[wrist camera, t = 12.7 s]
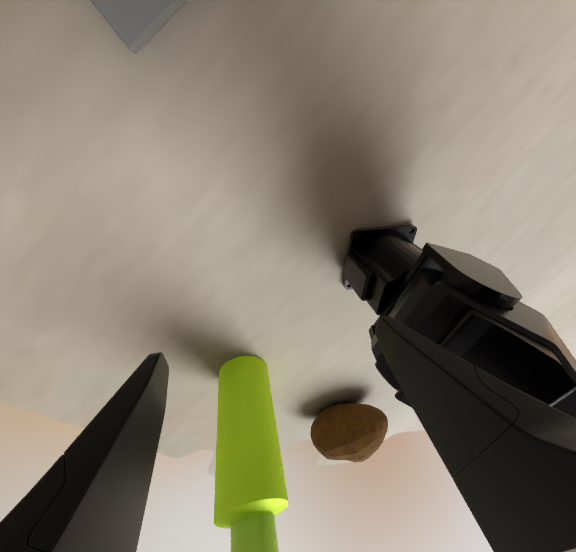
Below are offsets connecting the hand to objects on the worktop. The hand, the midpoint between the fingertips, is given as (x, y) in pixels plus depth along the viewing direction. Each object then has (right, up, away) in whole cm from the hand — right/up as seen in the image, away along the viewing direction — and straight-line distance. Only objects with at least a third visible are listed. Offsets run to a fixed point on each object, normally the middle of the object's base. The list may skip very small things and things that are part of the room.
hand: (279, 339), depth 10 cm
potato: (+9, -19, +30) cm, 37 cm away
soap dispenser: (-5, -9, +20) cm, 23 cm away
